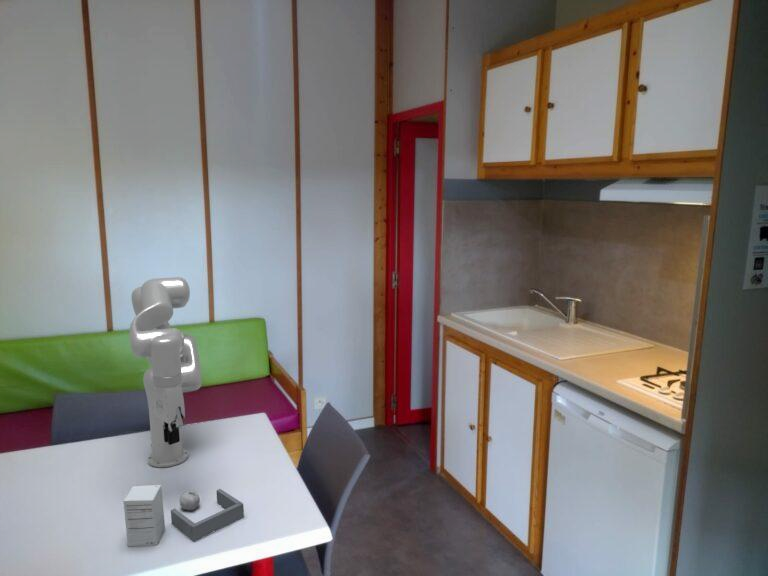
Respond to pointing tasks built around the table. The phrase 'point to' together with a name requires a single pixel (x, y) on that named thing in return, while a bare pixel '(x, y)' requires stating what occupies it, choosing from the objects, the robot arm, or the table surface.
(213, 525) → the box
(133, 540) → the supplement box
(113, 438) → the table surface
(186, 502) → the garlic
